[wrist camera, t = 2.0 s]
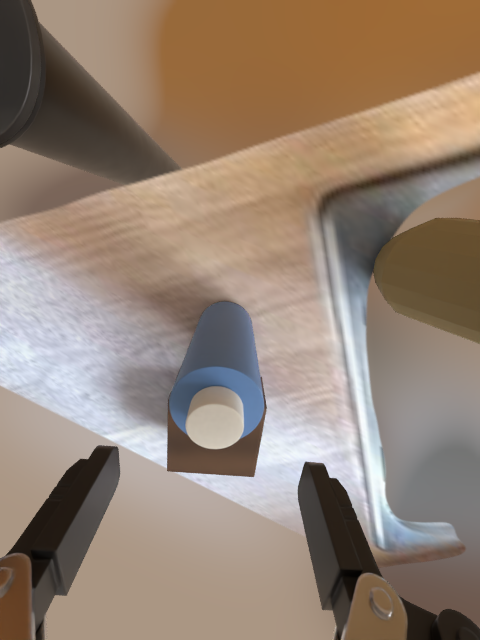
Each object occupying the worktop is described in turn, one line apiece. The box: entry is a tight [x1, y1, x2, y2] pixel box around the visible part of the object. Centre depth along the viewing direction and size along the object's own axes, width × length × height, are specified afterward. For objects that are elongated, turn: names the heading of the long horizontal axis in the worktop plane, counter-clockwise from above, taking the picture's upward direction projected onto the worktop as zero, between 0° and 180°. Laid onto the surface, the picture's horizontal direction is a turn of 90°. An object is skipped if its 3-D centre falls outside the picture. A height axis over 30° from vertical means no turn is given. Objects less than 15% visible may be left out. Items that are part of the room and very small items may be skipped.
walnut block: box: [167, 370, 267, 477], centre depth 27 cm, size 9×9×5 cm
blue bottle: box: [169, 302, 264, 449], centre depth 19 cm, size 5×5×14 cm
